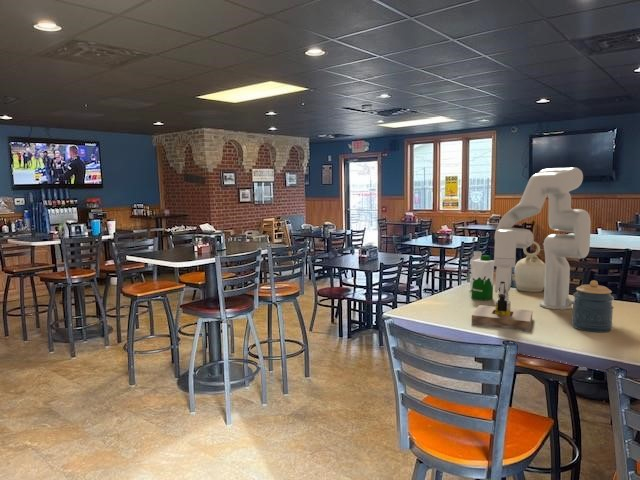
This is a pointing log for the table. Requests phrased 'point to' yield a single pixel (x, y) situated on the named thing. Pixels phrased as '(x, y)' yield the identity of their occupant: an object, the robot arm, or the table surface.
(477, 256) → the plastic bottle
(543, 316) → the table surface
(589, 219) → the robot arm
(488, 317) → the socket block
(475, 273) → the milk carton
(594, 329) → the canister
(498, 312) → the supplement bottle
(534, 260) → the jug
